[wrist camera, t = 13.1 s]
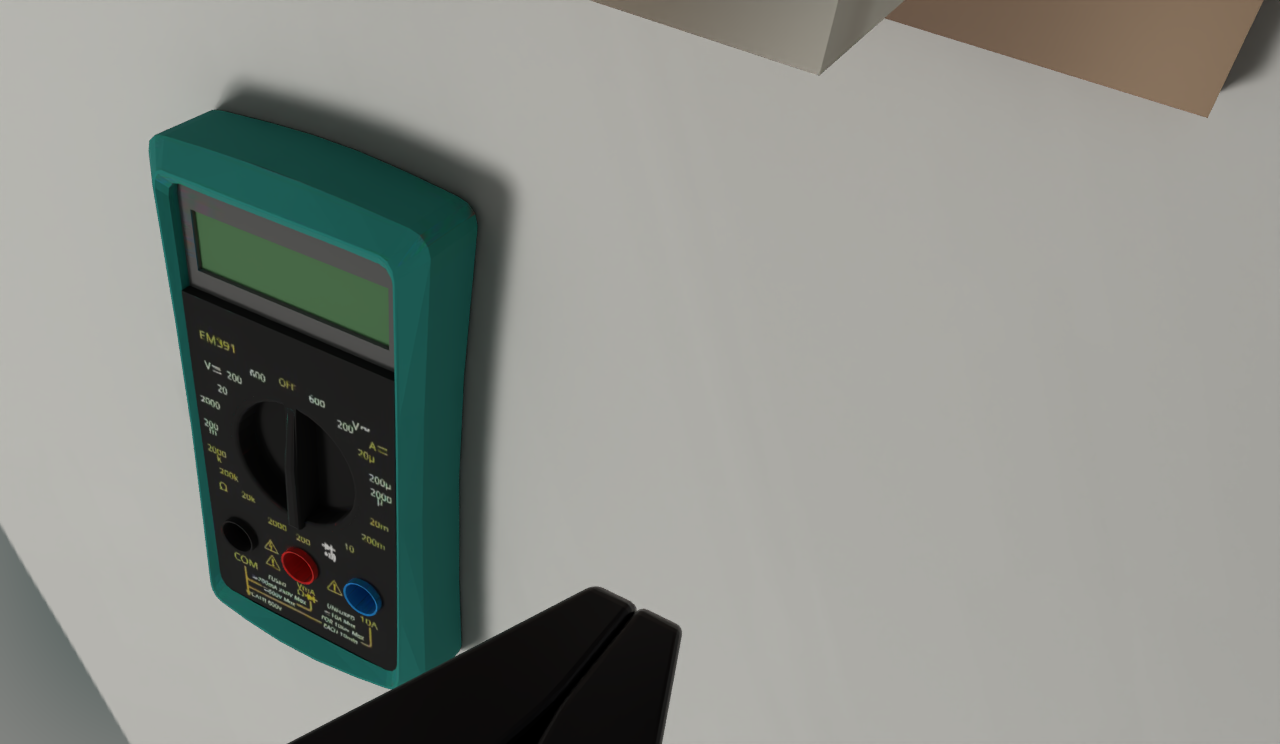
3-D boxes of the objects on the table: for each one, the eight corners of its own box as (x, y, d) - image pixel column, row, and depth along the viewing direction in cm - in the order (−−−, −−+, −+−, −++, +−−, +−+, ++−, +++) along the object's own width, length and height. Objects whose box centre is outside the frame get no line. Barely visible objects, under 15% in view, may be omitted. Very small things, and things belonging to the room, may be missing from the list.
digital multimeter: (266, 553, 35) (194, 617, 33) (219, 88, 26) (117, 131, 24) (473, 656, 33) (411, 730, 31) (496, 185, 24) (413, 242, 22)
